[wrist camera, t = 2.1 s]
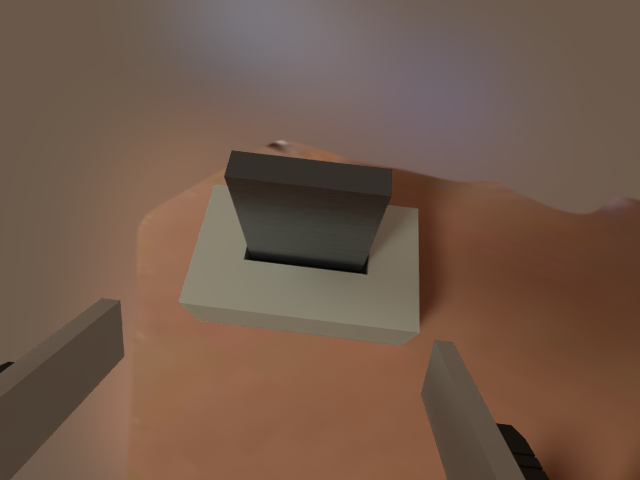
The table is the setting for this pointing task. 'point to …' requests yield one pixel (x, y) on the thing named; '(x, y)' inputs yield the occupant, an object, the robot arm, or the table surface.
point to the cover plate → (307, 209)
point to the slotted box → (306, 283)
